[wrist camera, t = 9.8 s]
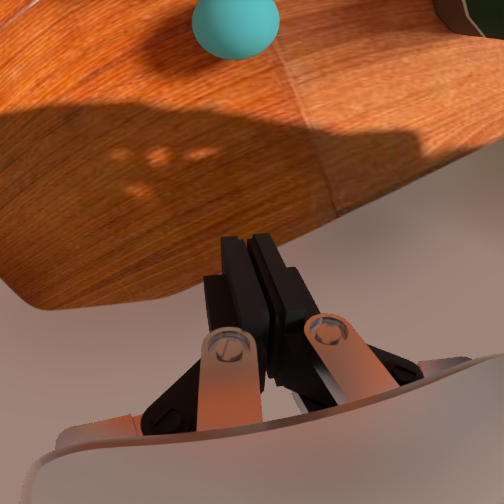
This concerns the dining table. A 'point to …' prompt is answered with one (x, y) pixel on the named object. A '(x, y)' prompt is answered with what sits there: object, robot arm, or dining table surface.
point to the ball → (235, 27)
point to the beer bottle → (473, 17)
